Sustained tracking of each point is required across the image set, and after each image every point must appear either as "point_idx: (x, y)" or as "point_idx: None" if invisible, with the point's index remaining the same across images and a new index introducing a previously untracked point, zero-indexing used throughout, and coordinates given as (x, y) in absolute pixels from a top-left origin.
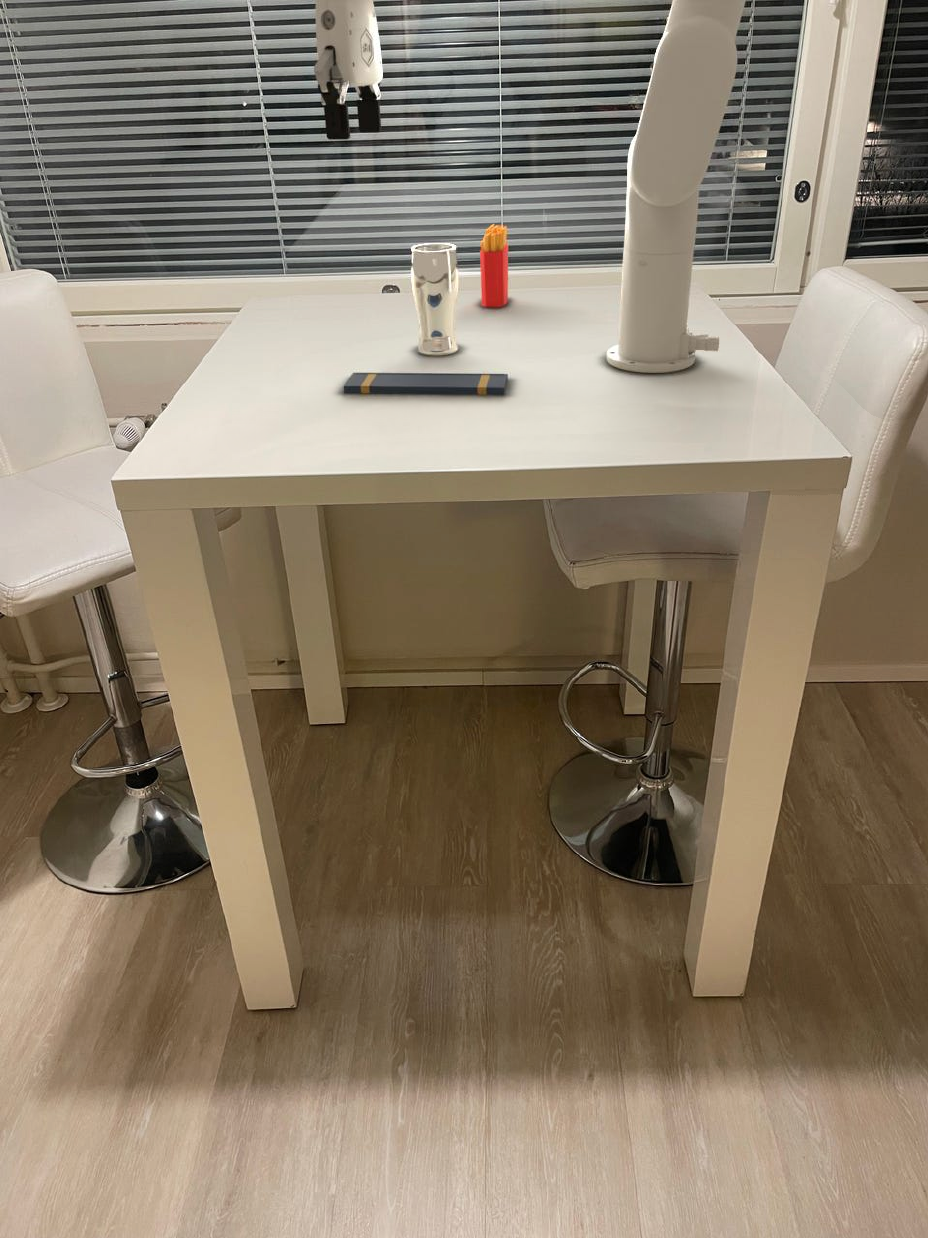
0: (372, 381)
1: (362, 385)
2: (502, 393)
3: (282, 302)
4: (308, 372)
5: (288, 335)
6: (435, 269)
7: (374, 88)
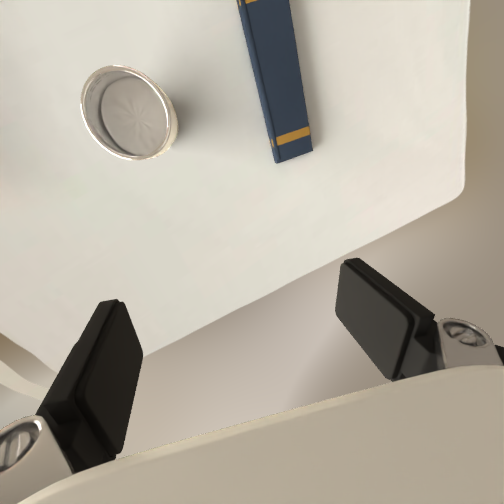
0: (296, 129)
1: (308, 133)
2: None
3: None
4: (268, 212)
5: (180, 292)
6: (167, 97)
7: (53, 473)
